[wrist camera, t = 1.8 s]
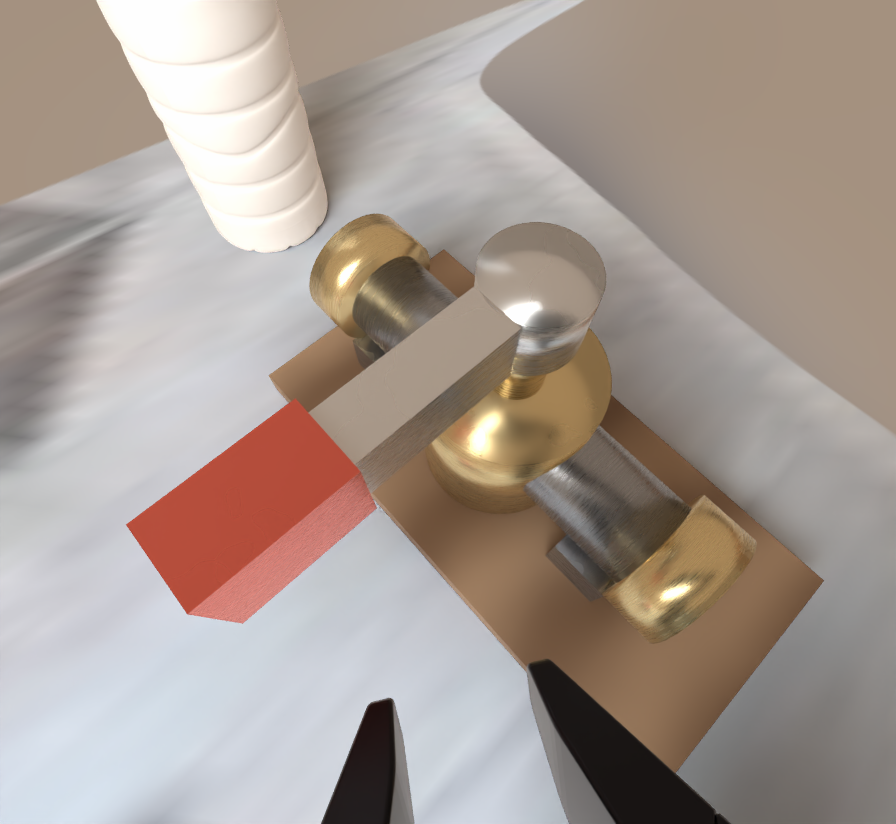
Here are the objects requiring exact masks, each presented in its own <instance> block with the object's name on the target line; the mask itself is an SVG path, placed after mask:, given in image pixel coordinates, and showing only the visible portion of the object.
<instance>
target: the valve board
mask: <svg viewBox="0 0 896 824" xmlns="http://www.w3.org/2000/svg"><path fill="white" fill-rule="evenodd" d="M429 272H430V273H431V274H432V275H433V276H434V277H435V278H436V279H437V280H439V281H440V282H441V283H442V284H443V285H444V286H445V287H446V288H447V289H449V290H450V291H451V292H452V293H453V294H454V295H455V296H456V297H457V298H459V297H461V296H462V295H463V294H465V293H466V292H467V291H469V290H470V289H471V288H473V287H474V283H475V276H474V275H473V274H472V273H470V272H469V271H468V270H467V269H466V268H465V267H464V266H462V265H461V264H460V263H459V262H458V261H457V260H455V259H454V258H453V257H452V256H451V255H450V254H449V253H447V252H446V251H445V250H442V251H441V252H440V253H438V254H437V255H435V256H434V257H433V258H431V259H430V269H429ZM354 339H356V338H352V337H350V336H348V335H347V334H346V333H344V332H343V330H342V329H341V328H340V327H339V326H337V327H335V328H334V329H333V330H331V331H330V332H328V333H327V334H326V335H324V336H323V337H322V338H320V339H319V340H317V341H316V342H315V343H313V344H312V345H310V346H309V347H308V348H306V349H305V350H303V351H302V352H301V353H299V354H298V355H297V356H295V357H294V358H292V359H291V360H290V361H288V362H287V363H285V364H284V365H283V366H281V367H280V368H278V369H277V370H276V371H274V372H273V373H271V374H270V375H269V377H270V379H271V380H272V382H273V383H274V385H275V387H276V388H277V390H278V391H279V392H280V393H281V394H282V396H283V397H284V398H285V399H286V400H287V401H288V402H289V403H290V402H291V401H293V400H294V399H295V398H296V399H297V401H298V402H299V403H300V404H301V405H302V406H303V407H304V408H305V410H306V411H307V412H310V411H311V410H312V409H314V408H315V407H316V406H318V405H319V404H320V403H322V402H323V401H324V400H326V399H327V398H328V397H329V396H331V395H332V394H333V393H335V392H336V391H337V390H339V389H340V388H341V387H343V386H344V385H345V384H347V383H348V382H349V381H350V380H352V379H353V378H354V377H356V376H357V375H358V374H360V373H361V372H362V371H364V370H365V369H364V368H363V367H362V366H361V365H360V364H359V362H358V358H357V355H356V351H355V348H354V344H353V340H354ZM599 425H600V426H601V427H602V428H603V429H604V430H605V431H606V432H607V433H609V434H610V435H611V436H612V437H613V438H614V439H615V440H616V441H617V442H619V443H620V444H621V445H622V446H623V447H624V448H625V449H626V450H627V451H629V452H630V453H631V454H632V455H633V456H634V457H635V458H636V459H637V460H639V461H640V462H641V463H642V464H643V465H644V466H645V467H646V468H647V469H649V470H650V471H651V472H652V473H653V474H654V475H655V476H656V477H657V478H659V479H660V480H661V481H662V482H663V483H664V484H665V485H666V486H667V487H669V488H670V489H671V490H672V491H673V492H674V493H675V494H676V495H677V496H679V497H680V498H681V499H682V500H683V501H684V502H685V503H686V504H688V503H689V502H691V501H692V500H694V499H695V498H697V497H699V496H701V495H705V496H706V497H707V498H708V499H709V500H711V501H712V502H713V503H714V504H715V505H716V506H717V507H718V508H720V509H721V510H722V511H723V512H724V513H725V514H726V515H728V516H729V517H730V518H731V519H732V520H733V521H734V522H735V523H737V524H738V525H739V526H740V527H741V528H742V529H743V530H745V531H746V532H747V533H748V534H749V535H750V536H751V537H752V538H754V539H755V540H756V542H757V547H756V551H755V553H754V555H753V557H752V559H751V561H750V563H749V564H748V566H747V567H746V569H745V570H744V571H743V573H742V574H741V575H740V577H739V578H738V579H737V580H736V582H735V583H734V584H733V585H732V586H731V587H730V588H729V590H728V591H727V592H726V593H725V594H724V595H723V596H722V597H721V598H720V599H719V600H718V601H717V602H716V603H715V604H714V605H713V606H712V607H711V608H709V609H708V610H707V611H706V612H705V613H704V614H703V615H702V616H700V617H699V618H698V619H697V620H696V621H694V622H693V623H692V624H691V625H689V626H688V627H686V628H685V629H684V630H682V631H681V632H679V633H678V634H676V635H675V636H673V637H671V638H669V639H667V640H665V641H663V642H660V643H657V644H651V643H649V642H648V641H647V640H646V639H645V638H644V637H643V636H642V635H641V634H640V633H639V632H638V631H637V630H636V629H635V628H634V627H633V626H632V625H631V624H630V623H629V622H628V621H627V620H626V619H625V618H624V617H623V616H622V615H621V614H620V613H619V612H618V611H617V609H616V608H615V607H614V606H613V605H612V604H611V603H610V602H609V601H608V600H607V599H606V598H605V597H602V598H599V599H596V600H593V601H591V602H590V601H589V600H588V599H587V598H586V597H585V596H584V595H583V594H582V593H581V592H580V591H579V590H578V589H577V588H576V587H575V586H574V585H573V584H572V583H571V582H570V581H569V579H568V578H567V577H566V576H565V575H564V574H563V573H562V572H561V571H560V570H559V569H558V568H557V567H556V566H555V565H554V564H553V563H552V562H551V561H550V560H549V559H548V558H547V557H546V555H547V554H548V553H549V552H550V551H551V550H552V549H553V548H554V547H555V546H556V545H557V544H558V543H559V542H560V541H561V539H562V538H563V537H564V536H565V535H566V533H565V532H564V531H563V530H562V529H561V528H560V527H559V526H558V525H557V524H556V523H555V522H554V521H553V520H552V519H551V518H550V517H549V516H548V515H547V514H546V513H545V512H544V511H543V510H542V509H541V508H540V507H539V506H538V505H535V506H533V507H531V508H529V509H527V510H523V511H520V512H517V513H510V514H490V513H484V512H480V511H476V510H474V509H471V508H468V507H466V506H464V505H463V504H461V503H459V502H457V501H456V500H455V499H453V498H452V497H450V496H449V495H448V494H447V493H446V492H445V491H444V490H443V489H442V488H441V486H440V485H439V484H438V483H437V481H436V480H435V478H434V476H433V475H432V473H431V470H430V468H429V466H428V462H427V459H426V454H425V448H424V449H423V450H422V451H421V452H420V453H418V454H417V455H416V456H415V457H414V458H412V459H411V460H410V461H409V462H408V463H407V464H405V465H404V466H403V467H402V468H401V469H399V470H398V471H397V472H396V473H395V474H394V475H392V476H391V477H390V478H389V479H388V480H386V481H385V482H384V483H383V484H382V485H381V486H379V487H378V488H377V489H376V490H375V491H373V492H372V493H371V496H372V498H373V499H374V500H375V501H376V502H377V503H378V504H379V506H380V507H381V508H382V509H383V510H384V511H385V512H386V513H387V515H388V516H389V517H390V518H391V519H392V520H393V521H394V523H395V524H396V525H397V526H398V527H399V528H400V529H401V530H402V532H403V533H404V534H405V535H406V536H407V537H408V538H409V540H410V541H411V542H412V543H413V544H414V545H415V546H416V547H417V549H418V550H419V551H420V552H421V553H422V554H423V555H424V557H425V558H426V559H427V560H428V561H429V562H430V563H431V564H432V566H433V567H434V568H435V569H436V570H437V571H438V572H439V574H440V575H441V576H442V577H443V578H444V579H445V580H446V581H447V583H448V584H449V585H450V586H451V587H452V588H453V589H454V591H455V592H456V593H457V594H458V595H459V596H460V597H461V598H462V600H463V601H464V602H465V603H466V604H467V605H468V606H469V608H470V609H471V610H472V611H473V612H474V613H475V614H476V615H477V617H478V618H479V619H480V620H481V621H482V622H483V623H484V625H485V626H486V627H487V628H488V629H489V630H490V631H491V632H492V634H493V635H494V636H495V637H496V638H497V639H498V640H499V642H500V643H501V644H502V645H503V646H504V647H505V648H506V649H507V651H508V652H509V653H510V654H511V655H512V656H513V657H514V659H515V660H516V661H517V662H518V663H519V664H520V665H521V667H522V668H523V669H524V670H525V671H526V672H527V665H528V664H529V663H531V662H535V661H539V660H543V659H550V660H551V661H553V662H554V663H555V664H556V665H557V666H558V667H559V668H560V669H562V670H563V671H564V672H565V673H566V674H567V675H568V676H569V677H570V678H571V679H572V680H574V681H575V682H576V683H577V684H578V685H579V686H580V687H581V688H582V689H583V690H585V691H586V692H587V693H588V694H589V695H590V696H591V697H592V698H593V699H594V700H596V701H597V702H598V703H599V704H600V705H601V706H602V707H603V708H604V709H605V710H607V711H608V712H609V713H610V714H611V715H612V716H613V717H614V718H615V719H616V720H617V721H619V722H620V723H621V724H622V725H623V726H624V727H625V728H626V729H627V730H628V731H630V732H631V733H632V734H633V735H634V736H635V737H636V738H637V739H638V740H639V741H641V742H642V743H643V744H644V745H645V746H646V747H647V748H648V749H649V750H650V751H652V752H653V753H654V754H655V755H656V756H657V757H658V758H659V759H660V760H661V761H662V762H664V763H665V764H666V765H667V766H668V767H669V768H670V769H671V770H672V771H673V772H675V773H676V772H677V770H678V769H679V768H680V766H681V765H682V764H683V763H684V761H685V760H686V759H687V757H688V756H689V755H690V753H691V752H692V751H693V750H694V748H695V747H696V746H697V744H698V743H699V742H700V741H701V739H702V738H703V737H704V735H705V734H706V733H707V731H708V730H709V729H710V728H711V726H712V725H713V724H714V722H715V721H716V720H717V719H718V717H719V716H720V715H721V713H722V712H723V711H724V709H725V708H726V707H727V706H728V704H729V703H730V702H731V700H732V699H733V698H734V697H735V695H736V694H737V693H738V691H739V690H740V689H741V687H742V686H743V685H744V684H745V682H746V681H747V680H748V678H749V677H750V676H751V675H752V673H753V672H754V671H755V669H756V668H757V667H758V666H759V664H760V663H761V662H762V660H763V659H764V658H765V656H766V655H767V654H768V653H769V651H770V650H771V649H772V647H773V646H774V645H775V644H776V642H777V641H778V640H779V638H780V637H781V636H782V634H783V633H784V632H785V631H786V629H787V628H788V627H789V625H790V624H791V623H792V622H793V620H794V619H795V618H796V616H797V615H798V614H799V612H800V611H801V610H802V609H803V607H804V606H805V605H806V603H807V602H808V601H809V600H810V598H811V597H812V596H813V594H814V593H815V592H816V590H817V589H818V588H819V587H820V585H821V584H822V583H823V581H824V580H823V579H822V578H820V577H819V576H818V575H817V574H816V573H815V572H813V571H812V570H811V569H810V568H809V567H808V566H807V565H805V564H804V563H803V562H802V561H801V560H800V559H799V558H797V557H796V556H795V555H794V554H793V553H792V552H791V551H789V550H788V549H787V548H786V547H785V546H784V545H783V544H781V543H780V542H779V541H778V540H777V539H776V538H774V537H773V536H772V535H771V534H770V533H769V532H768V531H766V530H765V529H764V528H763V527H762V526H761V525H760V524H758V523H757V522H756V521H755V520H754V519H753V518H752V517H750V516H749V515H748V514H747V513H746V512H745V511H743V510H742V509H741V508H740V507H739V506H738V505H737V504H735V503H734V502H733V501H732V500H731V499H730V498H729V497H727V496H726V495H725V494H724V493H723V492H722V491H721V490H719V489H718V488H717V487H716V486H715V485H714V484H713V483H711V482H710V481H709V480H708V479H707V478H706V477H704V476H703V475H702V474H701V473H700V472H699V471H698V470H696V469H695V468H694V467H693V466H692V465H691V464H690V463H688V462H687V461H686V460H685V459H684V458H683V457H682V456H680V455H679V454H678V453H677V452H676V451H675V450H674V449H672V448H671V447H670V446H669V445H668V444H667V443H665V442H664V441H663V440H662V439H661V438H660V437H659V436H657V435H656V434H655V433H654V432H653V431H652V430H651V429H649V428H648V427H647V426H646V425H645V424H644V423H643V422H641V421H640V420H639V419H638V418H637V417H636V416H634V415H633V414H632V413H631V412H630V411H629V410H628V409H626V408H625V407H624V406H623V405H622V404H621V403H620V402H618V401H617V400H616V399H615V398H614V397H613V396H612V395H611V397H610V401H609V405H608V408H607V411H606V413H605V415H604V417H603V420H602V421H601V423H600V424H599Z"/></svg>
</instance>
